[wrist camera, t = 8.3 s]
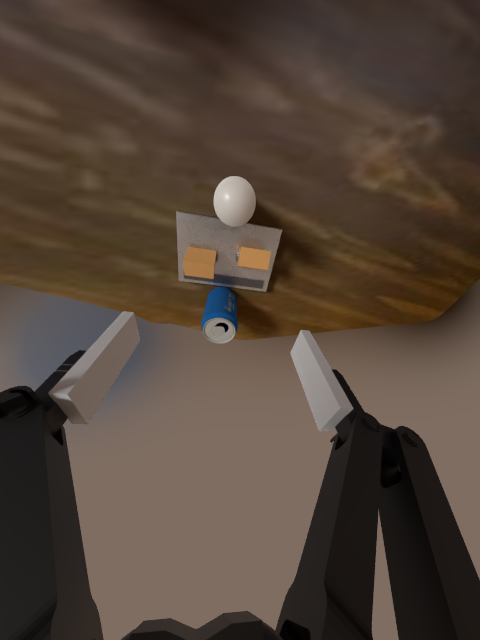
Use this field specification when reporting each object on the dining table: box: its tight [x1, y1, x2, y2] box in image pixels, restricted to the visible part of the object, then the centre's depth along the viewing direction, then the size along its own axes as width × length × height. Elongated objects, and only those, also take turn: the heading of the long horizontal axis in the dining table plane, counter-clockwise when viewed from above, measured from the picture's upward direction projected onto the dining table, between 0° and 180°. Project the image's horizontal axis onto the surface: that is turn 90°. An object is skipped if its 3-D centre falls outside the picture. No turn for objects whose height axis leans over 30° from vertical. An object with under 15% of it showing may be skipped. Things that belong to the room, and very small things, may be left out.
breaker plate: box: [176, 211, 282, 292], centre depth 34 cm, size 12×18×2 cm, turn 81°
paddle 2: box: [236, 247, 271, 270], centre depth 32 cm, size 3×6×5 cm, turn 81°
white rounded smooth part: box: [214, 176, 256, 227], centre depth 24 cm, size 5×5×16 cm
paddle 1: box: [183, 247, 218, 279], centre depth 32 cm, size 3×6×5 cm, turn 80°
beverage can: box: [201, 287, 238, 344], centre depth 36 cm, size 6×6×12 cm
